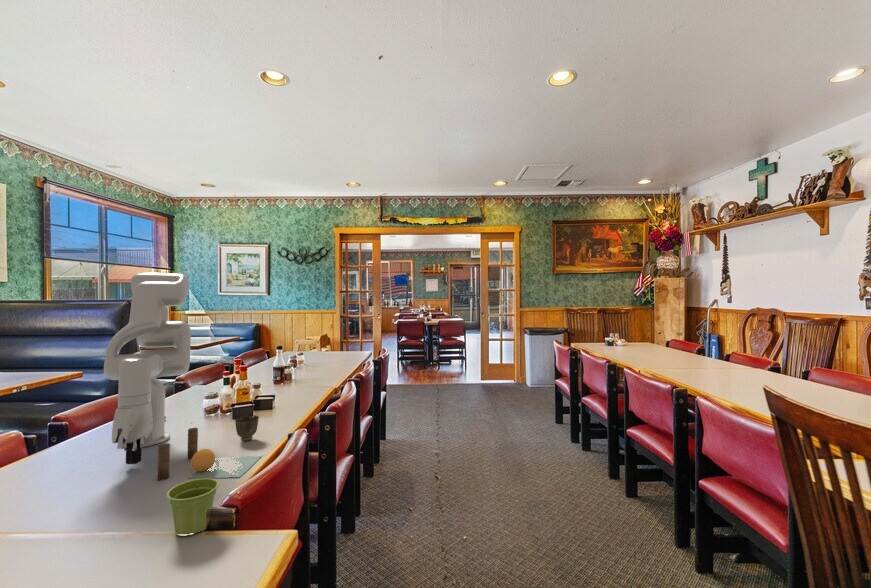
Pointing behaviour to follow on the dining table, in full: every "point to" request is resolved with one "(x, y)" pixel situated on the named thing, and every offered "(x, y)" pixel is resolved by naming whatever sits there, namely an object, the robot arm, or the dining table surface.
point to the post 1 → (163, 461)
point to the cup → (246, 427)
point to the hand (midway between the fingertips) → (133, 462)
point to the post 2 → (192, 442)
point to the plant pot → (192, 504)
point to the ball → (203, 460)
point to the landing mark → (244, 460)
